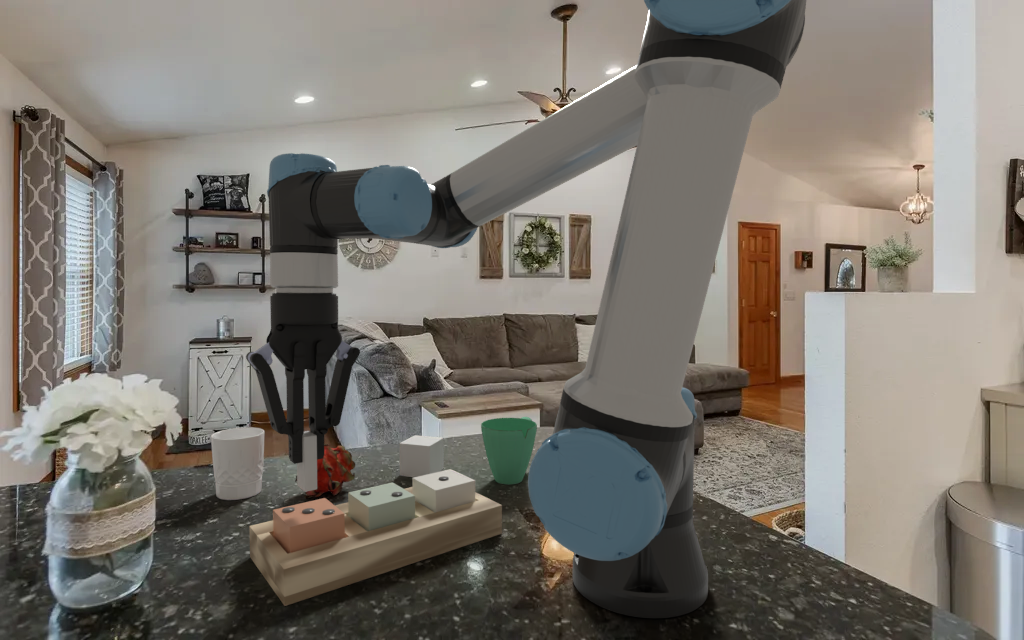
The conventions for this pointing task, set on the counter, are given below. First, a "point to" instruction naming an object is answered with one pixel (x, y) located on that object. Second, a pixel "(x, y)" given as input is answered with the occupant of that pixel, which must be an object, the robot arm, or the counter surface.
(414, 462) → the white cube
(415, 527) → the key panel
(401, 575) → the counter surface
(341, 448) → the dragon fruit
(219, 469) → the white cup
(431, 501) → the key one
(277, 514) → the key three
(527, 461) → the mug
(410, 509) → the key two
